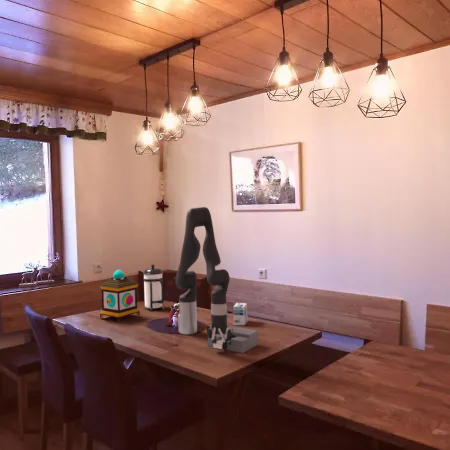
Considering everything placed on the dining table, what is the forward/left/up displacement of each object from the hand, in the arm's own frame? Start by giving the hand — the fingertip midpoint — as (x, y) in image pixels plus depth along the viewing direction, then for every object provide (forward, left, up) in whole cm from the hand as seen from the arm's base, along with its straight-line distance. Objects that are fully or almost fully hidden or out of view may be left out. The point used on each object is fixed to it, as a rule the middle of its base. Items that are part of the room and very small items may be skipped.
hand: (219, 348), depth 206 cm
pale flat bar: (0, +5, +1) cm, 5 cm away
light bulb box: (-18, +49, -2) cm, 52 cm away
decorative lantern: (-90, +23, -2) cm, 93 cm away
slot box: (0, +12, -2) cm, 12 cm away
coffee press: (-86, +51, -2) cm, 100 cm away
